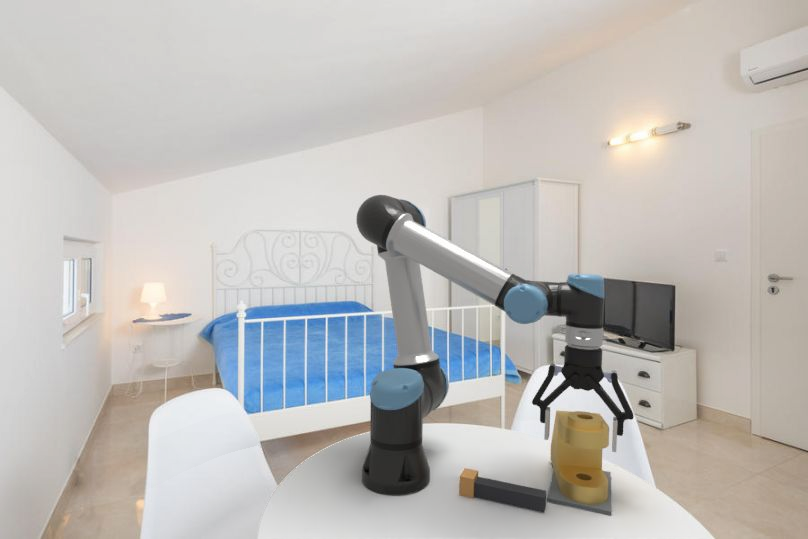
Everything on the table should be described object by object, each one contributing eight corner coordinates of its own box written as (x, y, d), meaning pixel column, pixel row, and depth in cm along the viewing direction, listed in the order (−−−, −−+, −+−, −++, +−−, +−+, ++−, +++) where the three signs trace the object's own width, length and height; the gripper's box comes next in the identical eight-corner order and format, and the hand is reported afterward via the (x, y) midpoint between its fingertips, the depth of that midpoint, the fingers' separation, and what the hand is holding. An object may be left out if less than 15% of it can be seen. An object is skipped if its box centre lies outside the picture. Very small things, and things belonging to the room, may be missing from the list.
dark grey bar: (459, 495, 96) (459, 476, 96) (464, 486, 99) (464, 468, 99) (543, 514, 89) (544, 493, 89) (546, 504, 92) (546, 484, 92)
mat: (546, 501, 93) (546, 497, 93) (555, 465, 110) (555, 462, 110) (611, 515, 89) (611, 511, 89) (610, 475, 105) (610, 472, 105)
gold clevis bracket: (612, 507, 90) (614, 426, 90) (563, 501, 92) (565, 422, 91) (590, 462, 110) (592, 396, 109) (550, 459, 112) (551, 393, 111)
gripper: (521, 342, 100) (518, 438, 101) (650, 355, 90) (645, 462, 91) (526, 337, 107) (523, 427, 108) (647, 349, 97) (643, 448, 98)
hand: (579, 443), depth 99 cm, fingers open, 13 cm apart
